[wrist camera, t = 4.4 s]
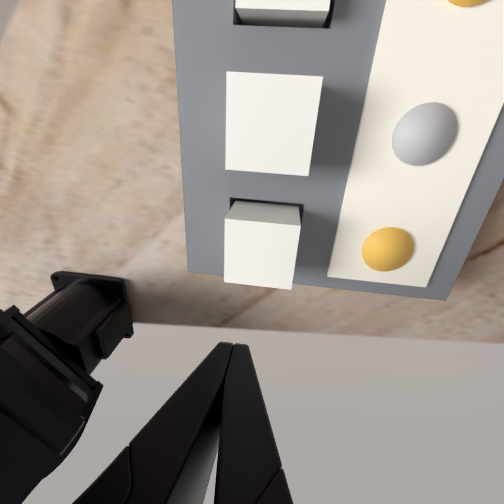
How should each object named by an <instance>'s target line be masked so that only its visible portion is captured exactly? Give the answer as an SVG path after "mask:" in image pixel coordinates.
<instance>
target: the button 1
mask: <svg viewBox="0 0 504 504" xmlns="http://www.w3.org/2000/svg"><path fill="white" fill-rule="evenodd" d="M329 6H330V0H236V4H235V8H236V10H237V12H238V14H239V16H240V19H241V21H242V23H243V25H245V26H271V27H297V28H322V27H323V24H324V22H325V19H326V17H327V14H328V12H329Z"/></svg>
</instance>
